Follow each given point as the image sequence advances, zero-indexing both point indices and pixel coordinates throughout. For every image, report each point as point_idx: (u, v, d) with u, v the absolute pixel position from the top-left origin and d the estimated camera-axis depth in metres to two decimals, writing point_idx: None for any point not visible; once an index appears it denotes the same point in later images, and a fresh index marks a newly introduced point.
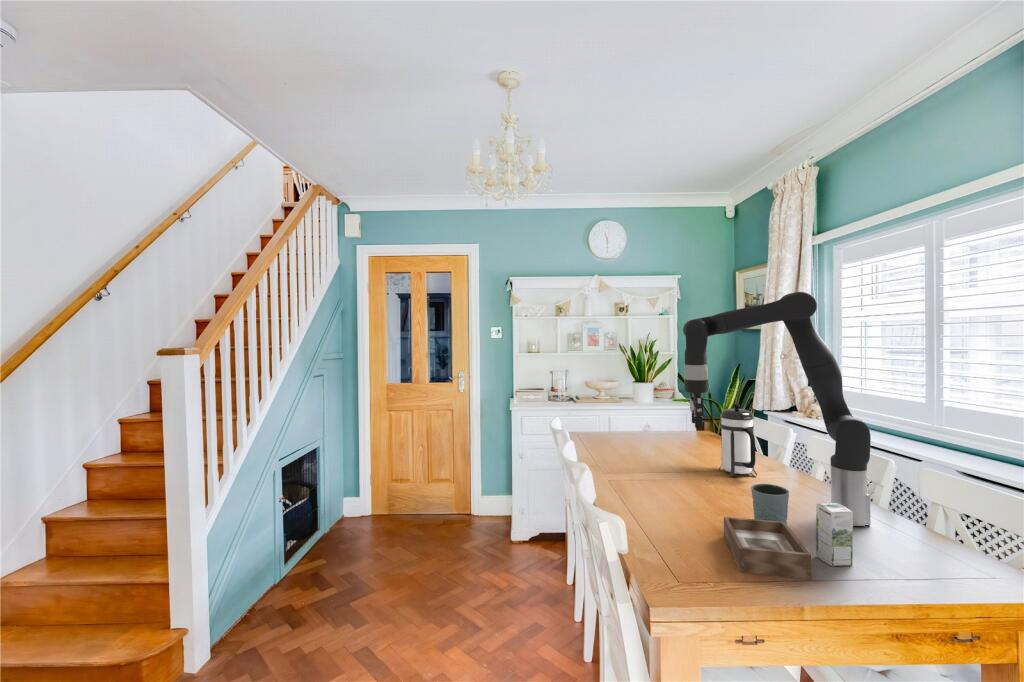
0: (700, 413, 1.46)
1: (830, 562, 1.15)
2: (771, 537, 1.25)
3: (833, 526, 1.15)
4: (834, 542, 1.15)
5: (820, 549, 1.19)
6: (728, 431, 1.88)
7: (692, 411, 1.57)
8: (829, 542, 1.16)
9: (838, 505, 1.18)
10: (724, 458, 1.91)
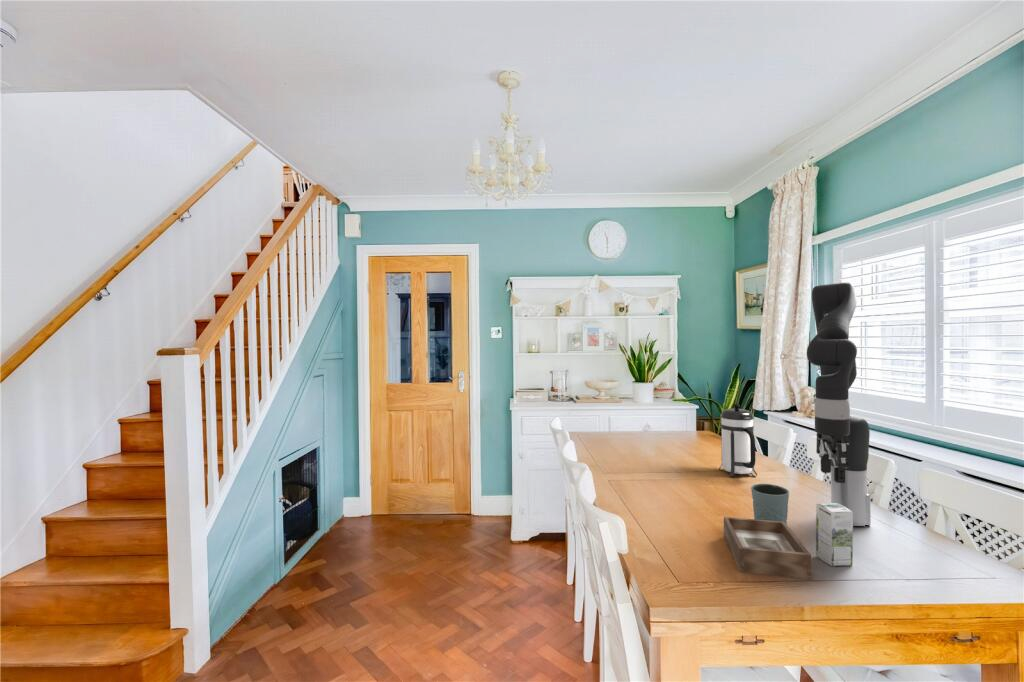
0: (845, 464, 1.11)
1: (830, 562, 1.15)
2: (771, 537, 1.25)
3: (833, 526, 1.15)
4: (834, 542, 1.15)
5: (820, 549, 1.19)
6: (728, 431, 1.88)
7: (822, 457, 1.22)
8: (829, 542, 1.16)
9: (838, 505, 1.18)
10: (724, 458, 1.91)
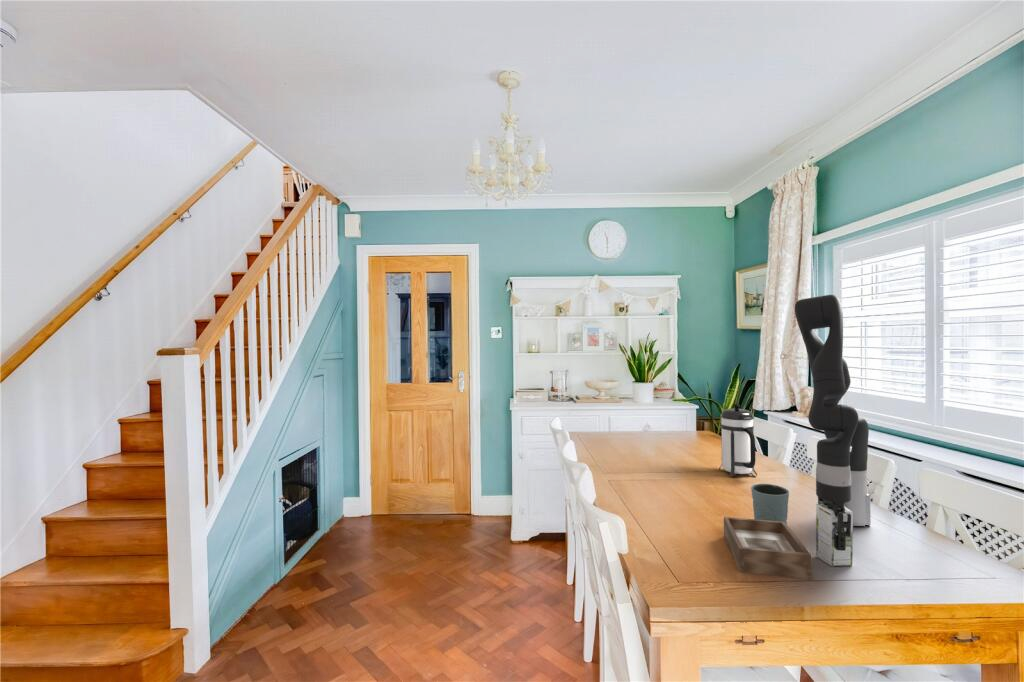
0: (846, 533, 1.12)
1: (830, 562, 1.15)
2: (771, 537, 1.25)
3: (833, 526, 1.15)
4: (833, 542, 1.15)
5: (820, 549, 1.19)
6: (728, 431, 1.88)
7: None
8: (829, 542, 1.16)
9: None
10: (724, 458, 1.91)
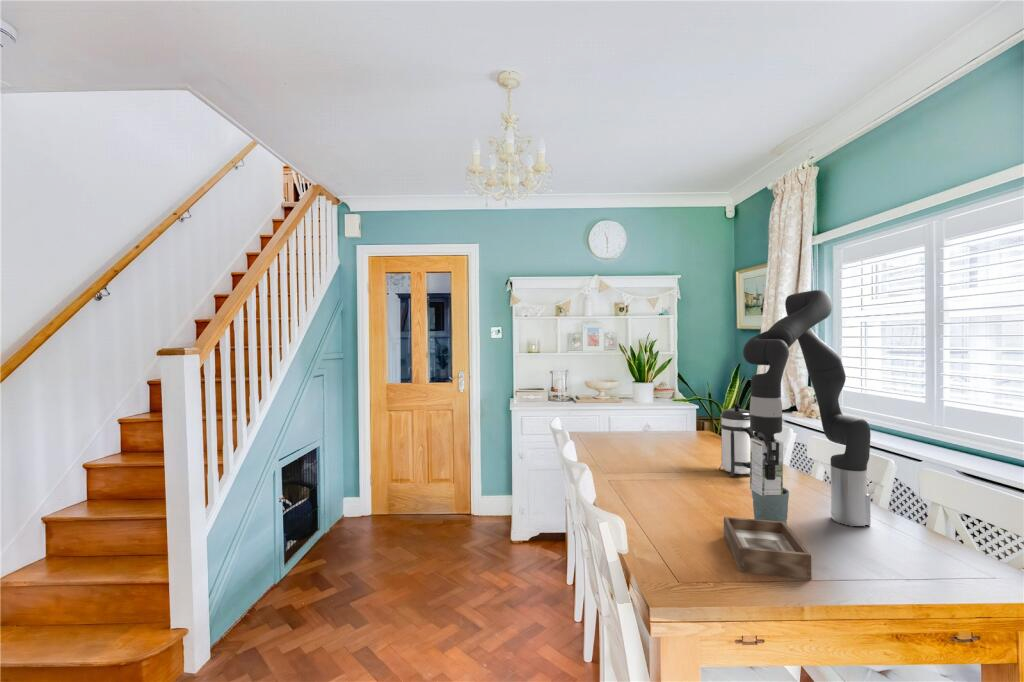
0: (774, 462, 1.14)
1: (761, 492, 1.18)
2: (771, 537, 1.25)
3: (764, 456, 1.18)
4: (764, 472, 1.18)
5: (753, 481, 1.22)
6: (728, 431, 1.88)
7: None
8: (760, 473, 1.18)
9: None
10: (724, 458, 1.91)
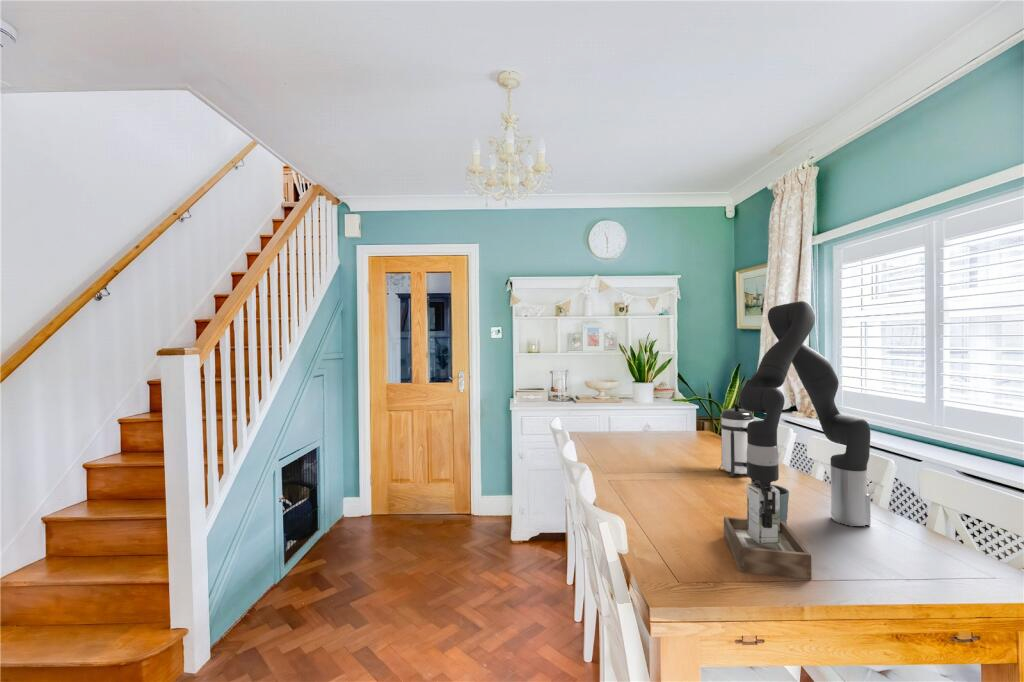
0: (771, 511, 1.15)
1: (758, 540, 1.19)
2: None
3: (760, 504, 1.18)
4: (761, 520, 1.18)
5: (750, 527, 1.22)
6: (728, 431, 1.88)
7: None
8: (757, 521, 1.19)
9: None
10: (724, 458, 1.91)
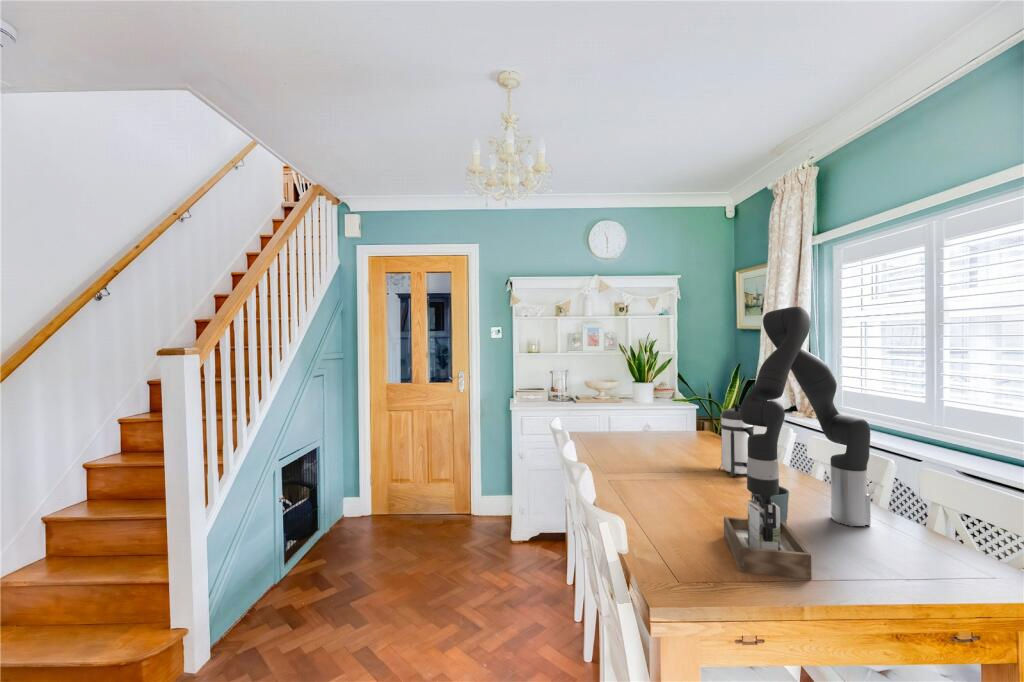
0: (771, 525, 1.14)
1: None
2: None
3: (760, 521, 1.18)
4: (761, 537, 1.18)
5: (751, 544, 1.22)
6: (728, 431, 1.88)
7: None
8: (757, 538, 1.19)
9: None
10: (724, 458, 1.91)
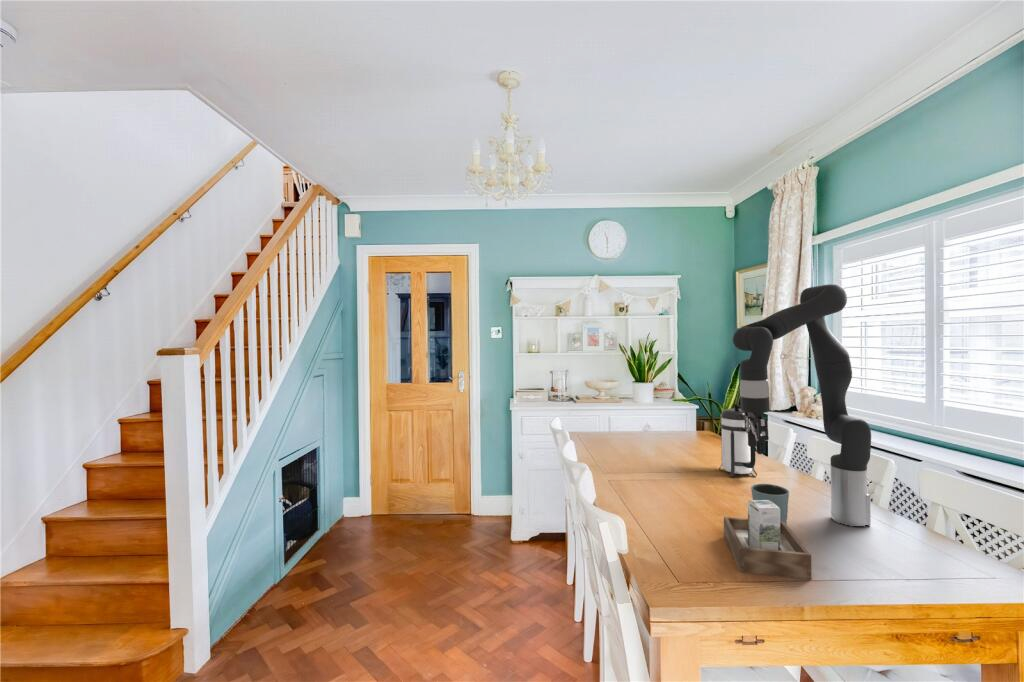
0: (764, 437, 1.25)
1: None
2: None
3: (760, 522, 1.18)
4: (761, 537, 1.18)
5: (751, 544, 1.22)
6: (728, 431, 1.88)
7: (748, 432, 1.36)
8: (757, 538, 1.19)
9: (768, 502, 1.22)
10: (724, 458, 1.91)
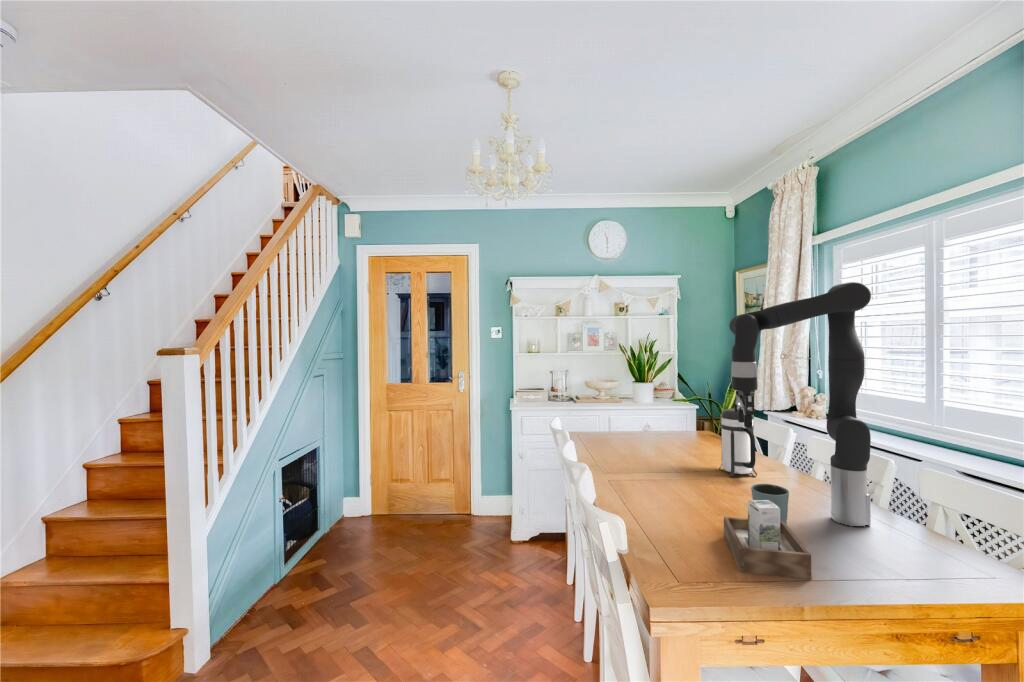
0: (751, 412, 1.40)
1: None
2: None
3: (760, 522, 1.18)
4: (761, 537, 1.18)
5: (751, 544, 1.22)
6: (728, 431, 1.88)
7: (739, 410, 1.52)
8: (757, 538, 1.19)
9: (768, 502, 1.22)
10: (724, 458, 1.91)
